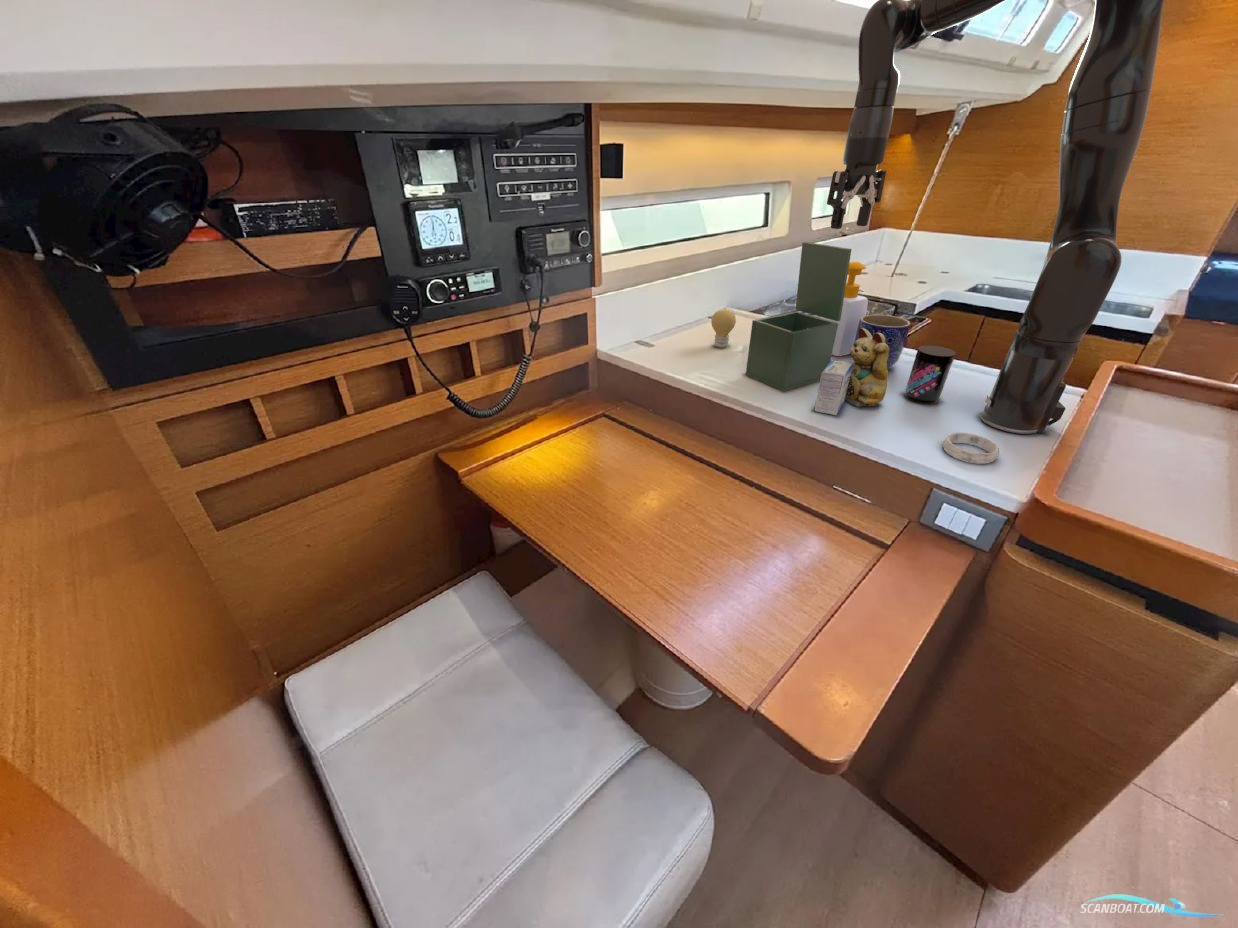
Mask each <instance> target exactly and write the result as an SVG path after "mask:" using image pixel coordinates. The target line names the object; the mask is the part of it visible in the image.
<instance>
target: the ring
mask: <svg viewBox="0 0 1238 928" xmlns="http://www.w3.org/2000/svg"><path fill="white" fill-rule="evenodd" d="M955 443H957V444H966V445H970V446H971V445H972V446H975V447H978V448H981V449H982V450H985V451H986V452H975V451H972V450H967V449H964V448H961V447H959V446H957V445H956V444H955ZM942 445H943V447H942V448H943V449H944V451H945V452H946V453H947V454H948V455H949V456H951V457H952V458H955V459H957V460H960V461H963V462H967V463H970V464H979V465H982V464H983V465H986V464H990V463H992V462H994V461H996V459H997V458H998V457H999V455H1000V448H999V446H998V444H996V443H995V442H994V441H993V440H991V439H989V438H987V437H984V436H981V435H978V434H975V433H969V432H953V433H950V434H949V435H947V436H946V437H944V440H943V444H942Z"/></svg>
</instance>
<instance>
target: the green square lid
mask: <svg viewBox="0 0 1238 928" xmlns="http://www.w3.org/2000/svg"><path fill="white" fill-rule="evenodd" d="M851 256H852V248H849V247H842V246H835V245H829V244H821V243H815V242H808V241H803V242H802V243H801V254H800V262H799V272H798V282H797V290H796V300H795V309H794V310H795V311H797V312H801V313H805V314H808V315H812V316H815V317H819V318H820V317H824V318H827V319H831V320H835V321H840V320H841V313H842V307H843V301H844V294H845V288H846V283H847V281H848V276H849V275H848V269H849V262H851Z"/></svg>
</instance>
